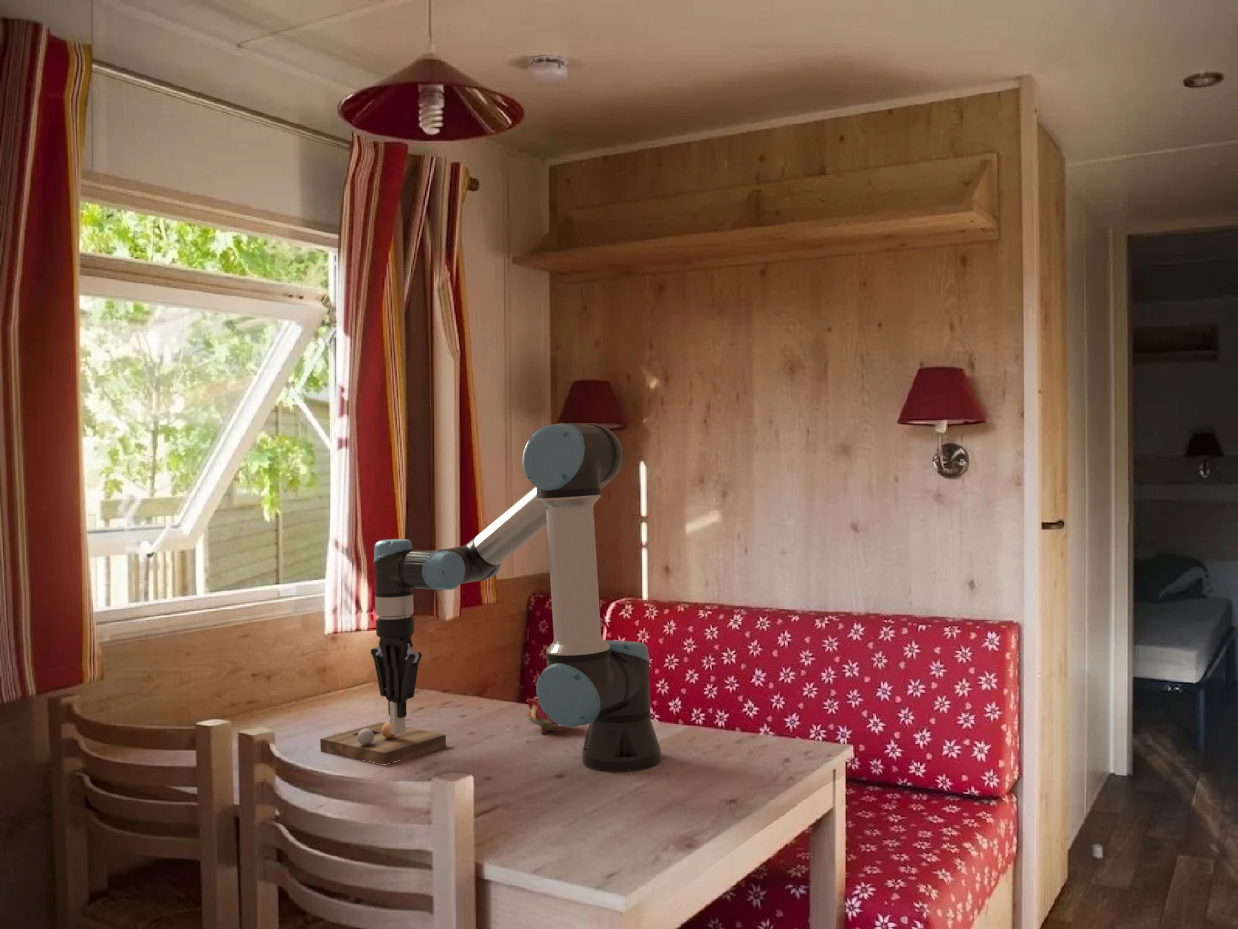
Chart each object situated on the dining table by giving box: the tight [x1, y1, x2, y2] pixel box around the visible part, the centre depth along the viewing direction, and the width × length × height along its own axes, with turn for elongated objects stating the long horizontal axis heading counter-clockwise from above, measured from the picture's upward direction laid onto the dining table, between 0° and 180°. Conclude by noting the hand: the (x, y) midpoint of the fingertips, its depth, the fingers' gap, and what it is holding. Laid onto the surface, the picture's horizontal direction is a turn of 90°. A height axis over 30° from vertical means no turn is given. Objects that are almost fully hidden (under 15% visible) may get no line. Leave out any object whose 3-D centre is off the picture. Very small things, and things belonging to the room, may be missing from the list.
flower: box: [526, 695, 562, 735], centre depth 237 cm, size 10×9×8 cm
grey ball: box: [358, 729, 374, 745], centre depth 220 cm, size 3×3×3 cm
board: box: [319, 721, 447, 765], centre depth 226 cm, size 20×16×2 cm
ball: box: [381, 721, 395, 738], centre depth 225 cm, size 3×3×3 cm
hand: (398, 732), depth 223 cm, fingers closed
